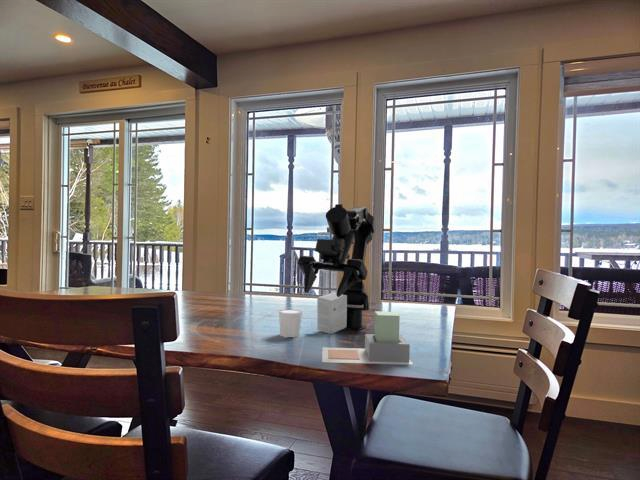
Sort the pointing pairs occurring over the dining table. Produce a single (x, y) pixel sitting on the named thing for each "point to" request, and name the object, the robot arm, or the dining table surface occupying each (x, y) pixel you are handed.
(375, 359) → the white board with socket
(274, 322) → the dining table surface
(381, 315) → the plug
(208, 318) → the dining table surface
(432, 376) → the dining table surface
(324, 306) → the small box
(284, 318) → the white cup
